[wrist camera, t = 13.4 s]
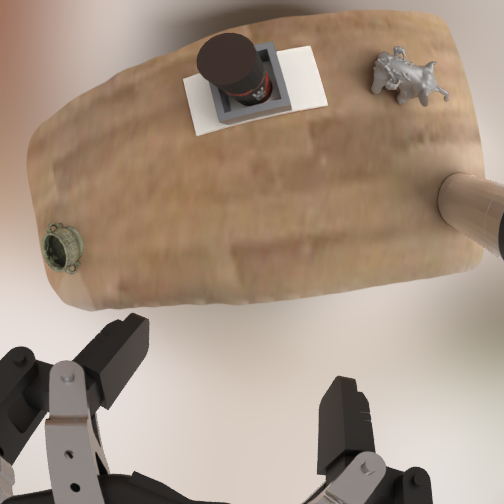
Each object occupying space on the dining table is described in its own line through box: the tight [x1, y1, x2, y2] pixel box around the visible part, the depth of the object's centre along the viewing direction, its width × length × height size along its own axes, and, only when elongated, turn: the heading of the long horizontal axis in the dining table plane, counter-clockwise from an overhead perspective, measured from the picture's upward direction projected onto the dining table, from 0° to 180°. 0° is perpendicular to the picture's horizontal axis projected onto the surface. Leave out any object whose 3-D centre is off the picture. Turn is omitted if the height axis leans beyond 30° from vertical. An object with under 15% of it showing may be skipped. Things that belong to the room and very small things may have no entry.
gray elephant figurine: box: [371, 46, 449, 107], centre depth 28 cm, size 9×12×8 cm
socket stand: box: [183, 41, 328, 136], centre depth 34 cm, size 20×10×6 cm, turn 104°
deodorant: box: [197, 33, 273, 106], centre depth 29 cm, size 6×6×15 cm
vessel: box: [42, 223, 83, 274], centre depth 49 cm, size 12×9×6 cm
